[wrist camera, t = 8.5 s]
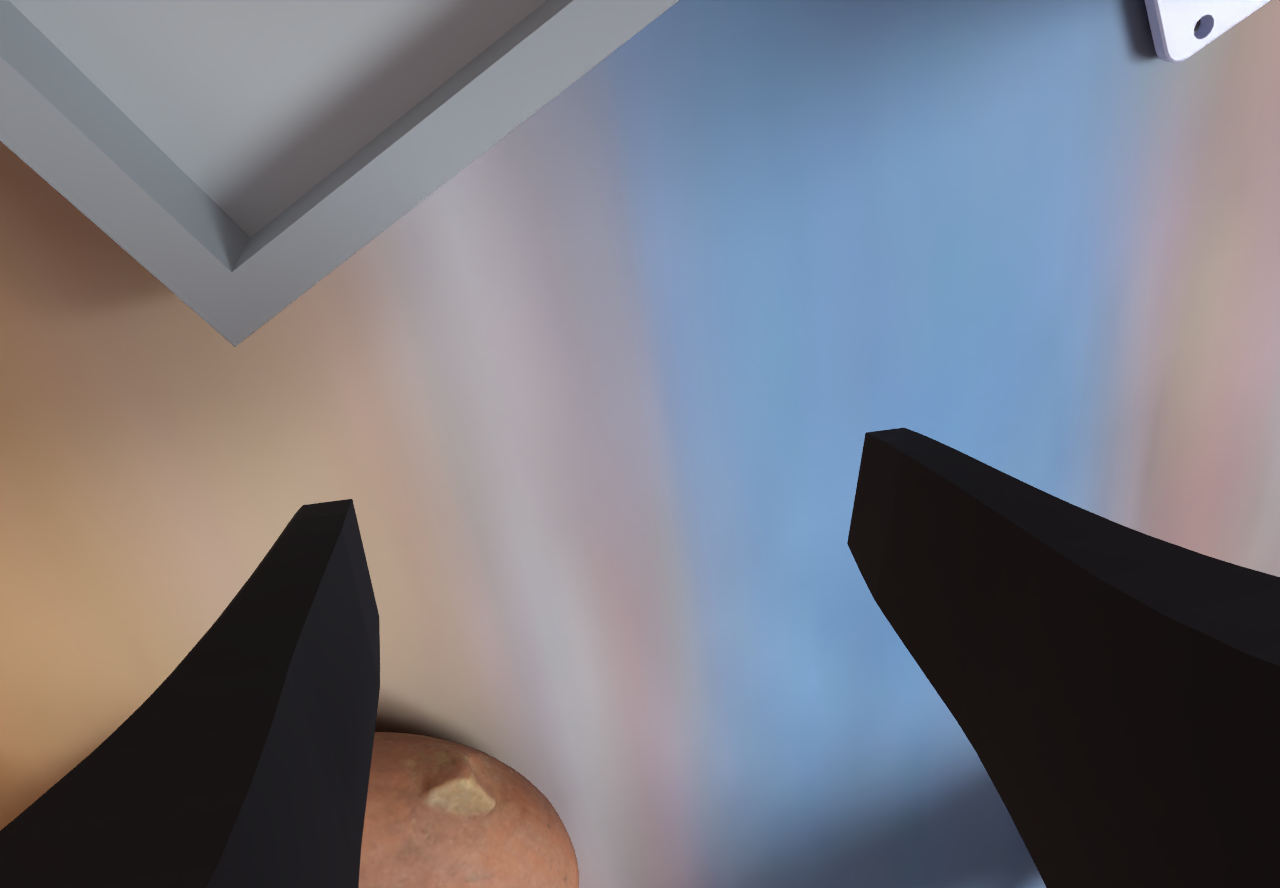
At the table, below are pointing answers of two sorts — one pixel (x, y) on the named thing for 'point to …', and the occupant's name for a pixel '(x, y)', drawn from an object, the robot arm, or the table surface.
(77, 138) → the slate box
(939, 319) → the table surface
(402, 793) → the ceramic jug
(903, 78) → the table surface
